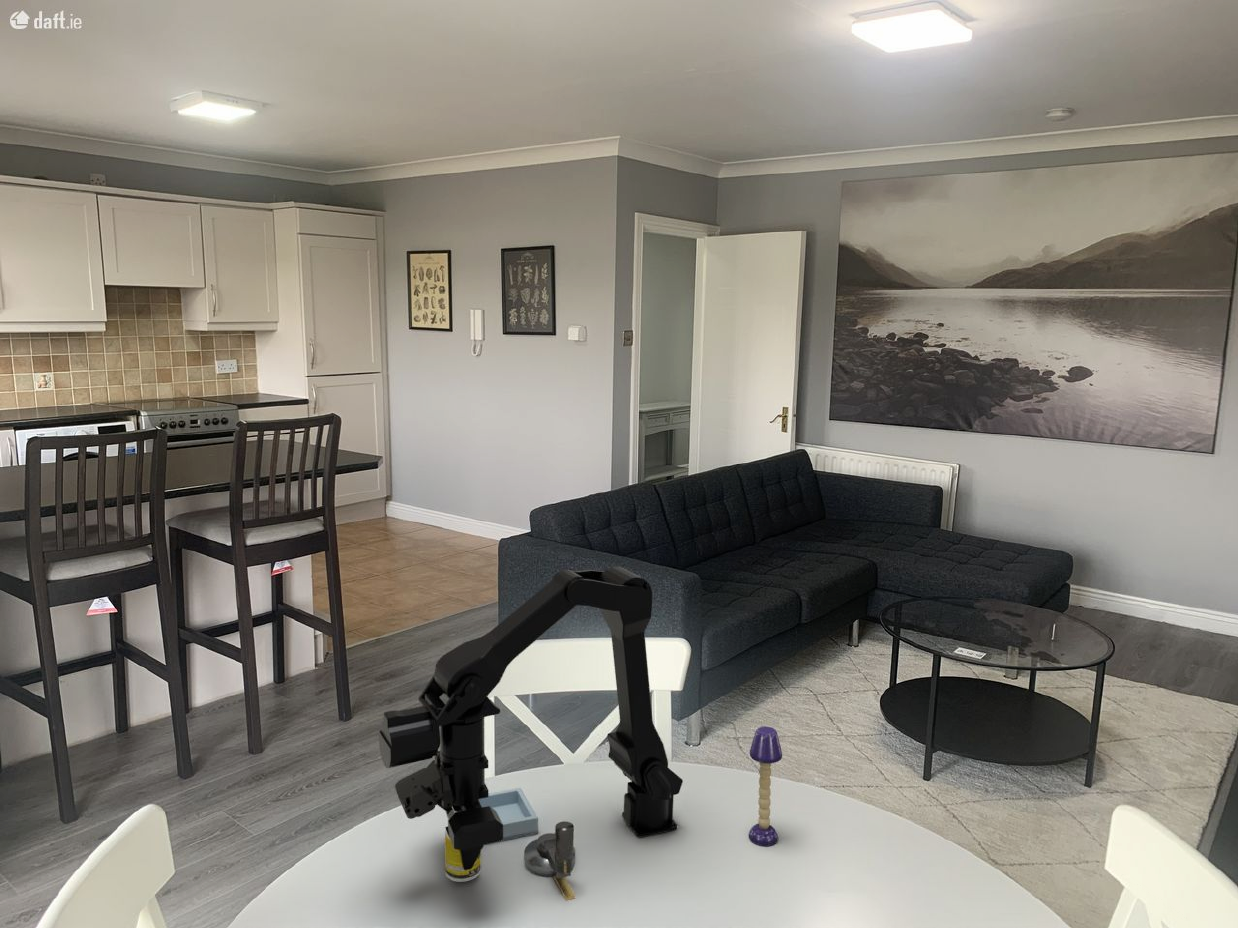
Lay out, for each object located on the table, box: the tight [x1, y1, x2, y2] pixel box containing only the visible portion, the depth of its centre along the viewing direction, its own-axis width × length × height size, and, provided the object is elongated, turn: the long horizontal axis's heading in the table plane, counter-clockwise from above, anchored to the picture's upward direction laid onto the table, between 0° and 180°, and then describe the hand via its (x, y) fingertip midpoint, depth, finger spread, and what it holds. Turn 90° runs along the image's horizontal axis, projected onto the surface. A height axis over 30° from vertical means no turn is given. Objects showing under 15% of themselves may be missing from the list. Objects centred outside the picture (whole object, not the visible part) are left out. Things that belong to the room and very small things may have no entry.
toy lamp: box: [748, 725, 783, 847], centre depth 131 cm, size 5×5×17 cm
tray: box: [479, 787, 539, 842], centre depth 133 cm, size 9×9×2 cm
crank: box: [536, 821, 575, 878], centre depth 121 cm, size 10×4×7 cm, turn 21°
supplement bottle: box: [444, 810, 482, 883], centre depth 120 cm, size 5×5×8 cm
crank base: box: [523, 838, 576, 901], centre depth 122 cm, size 7×12×2 cm, turn 22°
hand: (463, 857), depth 120 cm, fingers closed on supplement bottle, 5 cm apart
